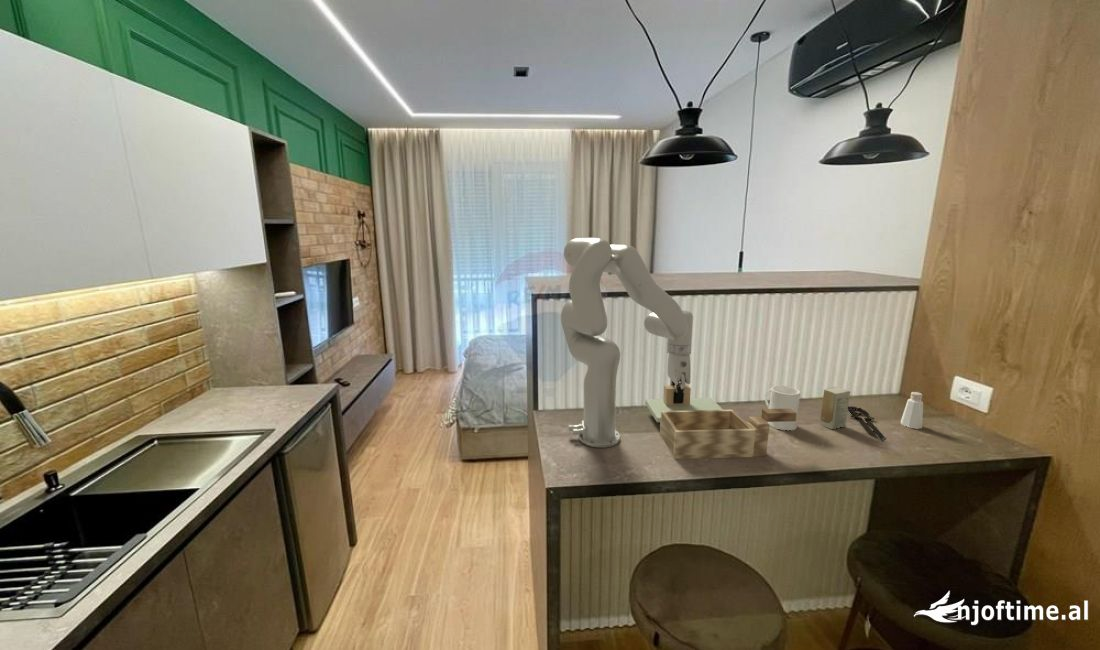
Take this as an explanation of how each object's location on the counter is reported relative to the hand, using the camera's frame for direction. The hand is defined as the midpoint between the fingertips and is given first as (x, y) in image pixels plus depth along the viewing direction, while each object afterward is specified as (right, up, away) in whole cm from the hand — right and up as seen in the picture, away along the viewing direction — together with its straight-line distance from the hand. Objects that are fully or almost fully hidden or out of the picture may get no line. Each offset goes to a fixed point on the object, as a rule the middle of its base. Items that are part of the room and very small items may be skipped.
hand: (676, 400), depth 141 cm
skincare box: (+48, -7, -6) cm, 49 cm away
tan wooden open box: (+4, -10, -18) cm, 21 cm away
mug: (+32, -7, -4) cm, 33 cm away
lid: (+2, -3, -2) cm, 5 cm away
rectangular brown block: (+21, -1, -24) cm, 32 cm away
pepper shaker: (+73, -7, -7) cm, 74 cm away
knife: (+60, -7, -5) cm, 61 cm away
